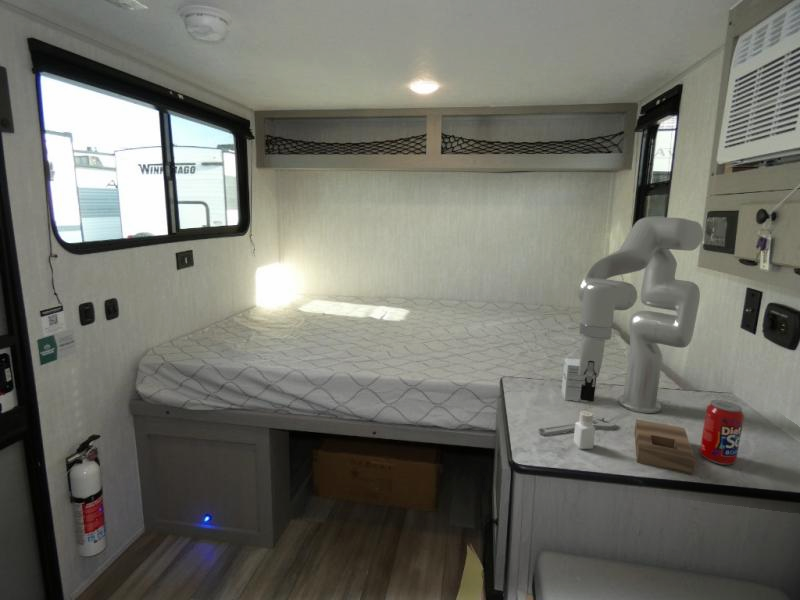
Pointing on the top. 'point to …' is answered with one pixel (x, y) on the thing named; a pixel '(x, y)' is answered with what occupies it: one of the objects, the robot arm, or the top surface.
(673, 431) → the socket block
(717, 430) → the soda can
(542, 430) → the adjustable wrench
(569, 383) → the supplement box
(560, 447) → the top surface
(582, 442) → the pepper shaker
